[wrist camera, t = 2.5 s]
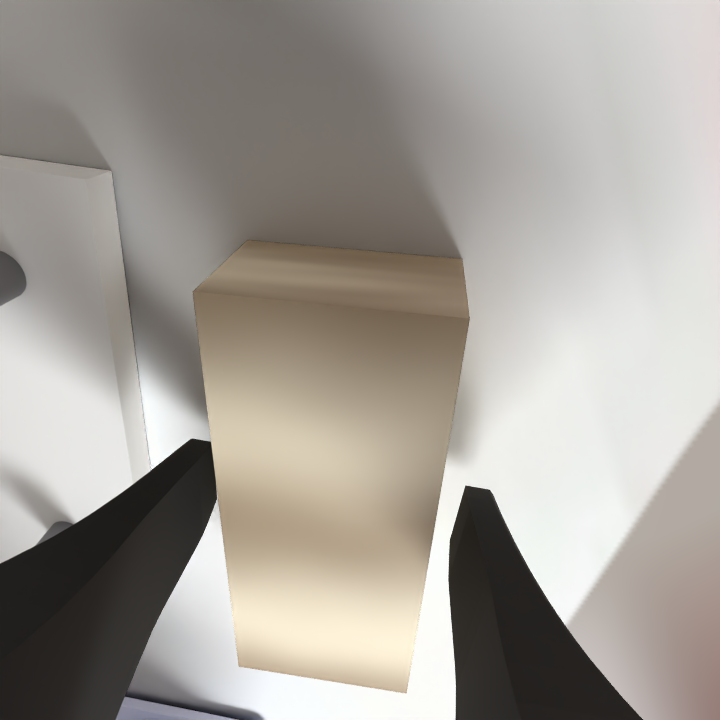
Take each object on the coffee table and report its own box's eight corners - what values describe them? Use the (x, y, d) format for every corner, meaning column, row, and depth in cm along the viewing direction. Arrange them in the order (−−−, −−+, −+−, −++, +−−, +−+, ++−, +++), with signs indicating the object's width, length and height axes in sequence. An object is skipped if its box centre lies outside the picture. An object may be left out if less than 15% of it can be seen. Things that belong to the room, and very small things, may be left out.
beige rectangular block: (411, 588, 18) (406, 693, 15) (271, 568, 19) (238, 666, 16) (461, 254, 12) (469, 318, 9) (251, 236, 12) (192, 291, 10)
